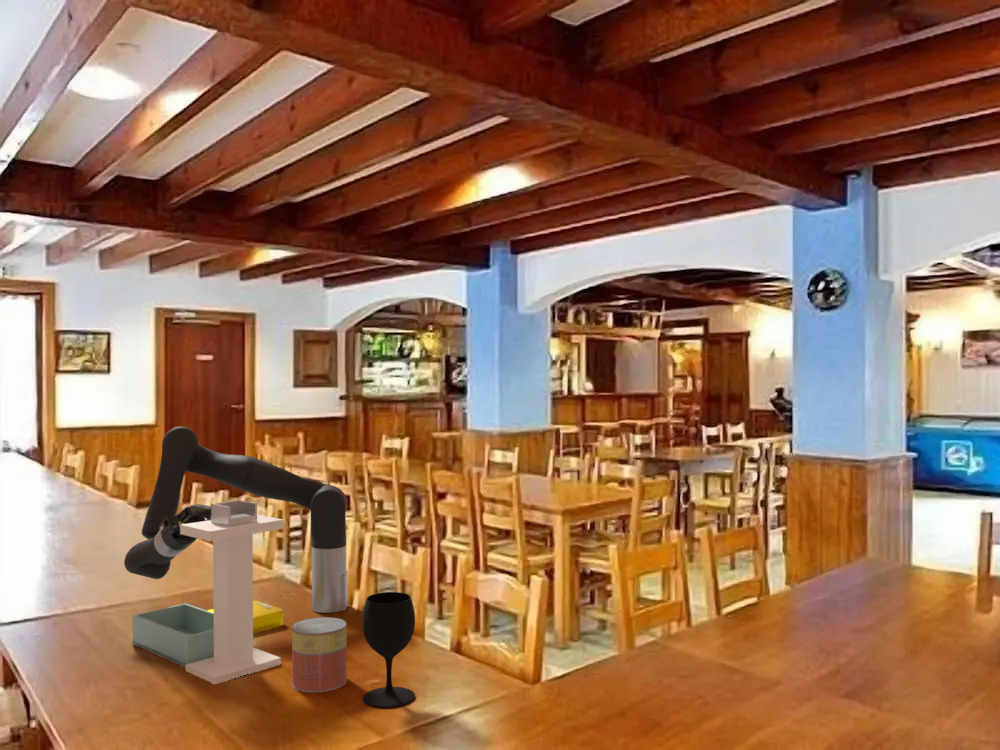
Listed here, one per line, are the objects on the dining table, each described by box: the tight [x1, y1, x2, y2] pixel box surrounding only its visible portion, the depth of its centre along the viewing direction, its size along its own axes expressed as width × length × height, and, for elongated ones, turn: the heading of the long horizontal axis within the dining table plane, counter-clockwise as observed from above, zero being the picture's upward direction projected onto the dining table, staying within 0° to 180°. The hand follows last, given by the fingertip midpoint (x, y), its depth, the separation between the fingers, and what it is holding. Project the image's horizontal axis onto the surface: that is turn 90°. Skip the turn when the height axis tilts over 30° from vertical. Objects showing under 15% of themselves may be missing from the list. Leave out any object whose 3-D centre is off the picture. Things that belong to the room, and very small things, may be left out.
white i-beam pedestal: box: [180, 514, 285, 685], centre depth 185 cm, size 12×18×32 cm, turn 139°
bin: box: [131, 603, 214, 668], centre depth 198 cm, size 26×14×7 cm, turn 49°
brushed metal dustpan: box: [189, 500, 258, 527], centre depth 189 cm, size 20×7×4 cm, turn 49°
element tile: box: [207, 599, 284, 634], centre depth 216 cm, size 15×15×5 cm
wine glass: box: [361, 591, 416, 709], centre depth 168 cm, size 10×10×20 cm
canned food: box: [291, 616, 348, 693], centre depth 177 cm, size 11×11×12 cm
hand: (207, 508), depth 192 cm, fingers open, 8 cm apart
